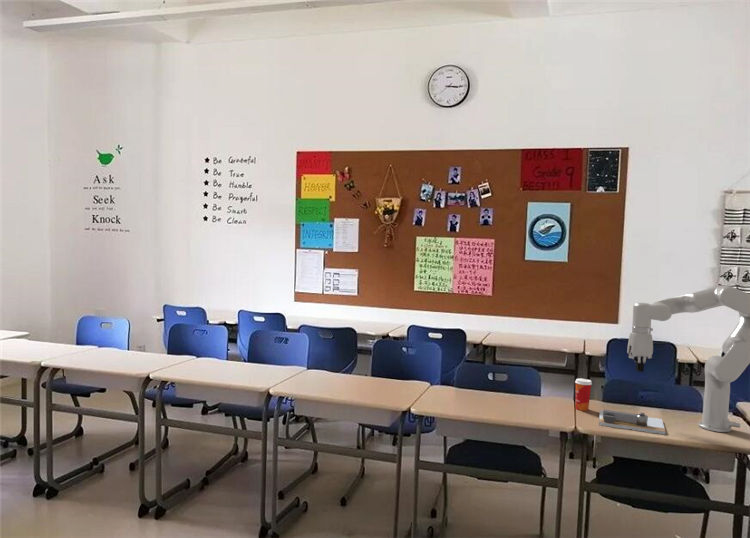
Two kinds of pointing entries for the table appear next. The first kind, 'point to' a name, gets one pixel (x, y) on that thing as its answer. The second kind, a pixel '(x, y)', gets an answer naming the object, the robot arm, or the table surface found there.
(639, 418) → the latch bar
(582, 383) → the paper cup
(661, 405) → the table surface
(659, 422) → the door board
